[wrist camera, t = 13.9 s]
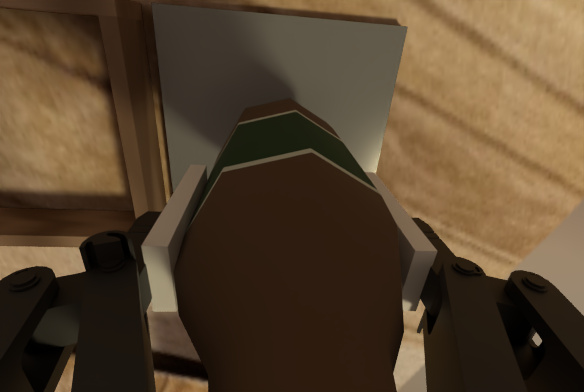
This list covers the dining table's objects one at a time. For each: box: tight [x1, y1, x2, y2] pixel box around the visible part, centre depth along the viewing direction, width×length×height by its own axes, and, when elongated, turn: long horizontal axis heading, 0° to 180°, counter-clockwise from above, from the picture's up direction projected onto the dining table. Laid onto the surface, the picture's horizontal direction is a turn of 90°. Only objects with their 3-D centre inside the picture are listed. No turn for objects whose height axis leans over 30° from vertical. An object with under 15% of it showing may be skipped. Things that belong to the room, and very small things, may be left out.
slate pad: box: [151, 3, 407, 193], centre depth 24 cm, size 17×17×1 cm
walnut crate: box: [0, 0, 166, 247], centre depth 21 cm, size 17×17×4 cm
